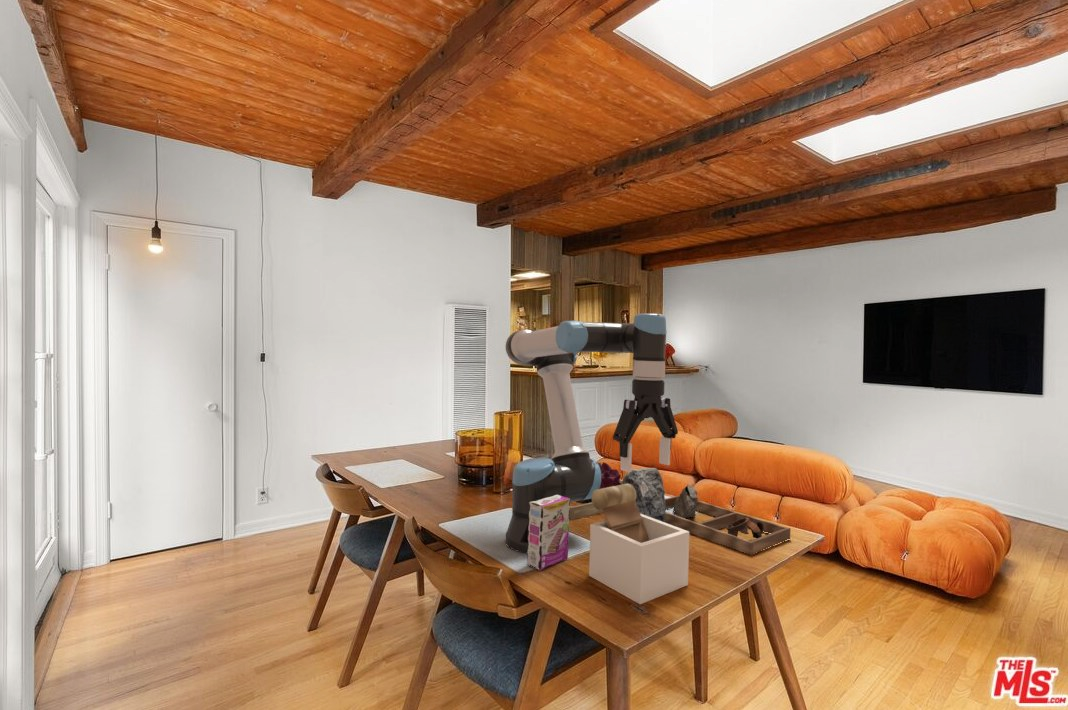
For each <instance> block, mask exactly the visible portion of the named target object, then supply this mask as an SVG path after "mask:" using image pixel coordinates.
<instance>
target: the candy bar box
mask: <svg viewBox="0 0 1068 710" xmlns="http://www.w3.org/2000/svg"><path fill="white" fill-rule="evenodd" d="M570 506H571V502H570V498H567V497H564V496H560V495H554V496H551V497H547V498H544V499H540V500H536V501H532V502H529V528H528V553H527V554H526V555H527V559H526V560H527V561H526V565H527V564H528V565H530V566H532V567H531V568H533V567H534V568H533V569H535V568H536V569H535V570H537V569H538V571H540V572H541V571H542V570H544V569H547V568H549V566H550V567H551V565H552V566H554V565H556V564H558V562H559V563H561V562H563V561H566V560H568V559H567V558H568V557H569V537H570V535H569V533H570V519H569V513H570ZM565 559H566V560H565ZM560 561H561V562H560ZM528 565H527V566H528ZM530 566H529V567H530Z"/></svg>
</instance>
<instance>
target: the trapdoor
mask: <svg viewBox="0 0 1068 710" xmlns="http://www.w3.org/2000/svg"><path fill="white" fill-rule="evenodd" d="M635 500H636V490H635V488H634V487H633V486H632V485H631V484H628V483H627V484H622V485H617V486H612V487H607V488H602V489H597V490H594V491H593V493H592V503H593V505H594V507H595V508H596V509H597V510H603V513H602V514H603V516H604V518H605V520H606V521H607V524H608V527H609V528H608V529H610V530H612V531H615V532H617V533H619V534H621V535H624V536H626V537H628V538H631V539H633V540H635V541H638V542H640V543H643V542H646V541H649V539H648V537H647V534H646V532H645V529H644V526H643V524H642V522H643V520H642V517H641V515H640V512H639V510H638V507H637V504H636V502H635Z"/></svg>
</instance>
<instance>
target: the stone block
mask: <svg viewBox="0 0 1068 710" xmlns="http://www.w3.org/2000/svg"><path fill="white" fill-rule="evenodd" d="M622 480H623V484H627V483H628V484H631V485H632V486H633V487H634V488H635V490H636V500H635V502H636V504H637V507H638V510H639V512H640V514H643V515H646V516H648V517H651V518H654V519H657V520H659V521H662V522H665V519H666V514H665V512H666V510H665V509H666V501H665V499H666V497H665V493H666V491H665V486H664V481H663V477H662V475H661V472H660V471H659V470H658V469H657V468H656V467H645V468H631V472H626V473H625V474H624V476H623V478H622Z"/></svg>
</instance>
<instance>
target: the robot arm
mask: <svg viewBox="0 0 1068 710" xmlns="http://www.w3.org/2000/svg"><path fill="white" fill-rule="evenodd" d="M667 332H668V331H667V320H666V316H665V315H664V314H661V313H637V314H635V315H634V317H633V322H632V323H631V322H630V323H629V322H626V323H622V322H620V323H619V322H618V323H617V322H599V321H597V322H594V321H582V320H581V321H579V320H575V319H574V320H565V321H564V320H563V321H562V322H560V323H559V325H557V326H552V327H547V328H542V329H519V330H517V331H516V330H515V331H514V332H512V333H511V334H510V335H509V336H508V337H507V339H506V341H505V352H506V355H507V357H508V358H509V359H510V361H512V362H513V363H515V364H517V365H520V366H524V367H536V372H537V373H536V374H537V375H538V376H539V377H541V378H542V381H543V386H544V391H545V392H544V393H545V397H546V399H545V400H546V405H547V410H548V417H549V423H550V428H551V429H550V430H551V435H552V436H551V437H552V441H553V448H554V453H553V455H552V457H551V458H547V457H533V458H528V459H524V460H522V461H519V462H518V463H516V465H515V466H514V467H513V474H512V504H511V505H512V506H511V507H512V510H511V511H512V512H511V514H512V515H511V517H510V520H509V524H508V528H507V531H506V533H505V545H506V544H507V545H508V546H509V547H510V549H511V548H512V550H513V549H514V551H516V550H517V552H520V551H521V553H527V554H528V528H529V502H532V501H536V500H540V499H544V498H547V497H551V496H554V495H560V496H564V497H567V498H570V503H572V502H573V503H574V502H583V500H586V499H591V498H592V493H593V491H594V490H597V489H599V488H600V485H601V470H600V467H599V465H598V462H597V460H595V459H593V458H591V457H590V452H589V451H588V450H587V449H585V448H584V447H583V441H582V440H583V439H582V436H581V430H580V423H579V419H578V418H579V417H578V414H577V409H576V403H575V397H574V391H573V385H572V380H571V375H570V373H571V372H572V371H573V369H574V366H573V365H575V364H576V362H577V359H578V353H613V354H633V355H632V377H634V378H633V379H632V381H631V393H632V395H633V396H634V398H633V399H624V401H623V408H622V411H621V414H620V417H619V420H618V422H617V424H616V428H615V430H614V432H613V435H612V440H613V441H616V442H617V443H619V451H618V453H619V457H620V469H619V470H621V471H624V472H626V473H627V472H631V469H632V460H633V458H632V456H633V455H632V454H633V453H632V452H633V443H630V442H631V440H632V438H633V437H634V435H635V434H636V432H637V430H638V428H639V426H640V424H641V423H642V422H643V421H644V420H645V419H650V418H652V420H653V421H654V423H655V424H656V426H657V428H658V430H659V432H660V433H661V435H662V436H660V437H659V452H658V453H659V459H658V460H659V461H658V464H662V465H665V466H670V465H671V450H672V439H676V436H677V435H678V433H679V430H678V427H677V423H676V421H675V416H674V414H673V411H672V408H671V399H670V398H668V397H663V396H664V395H665V381H664V380H663V379H664V378H666V346H667V345H666V344H667ZM507 545H506V546H507ZM508 546H507V547H508ZM509 547H508V548H509Z"/></svg>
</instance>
